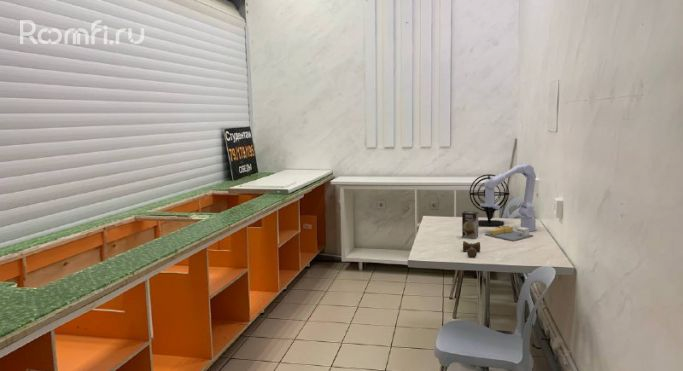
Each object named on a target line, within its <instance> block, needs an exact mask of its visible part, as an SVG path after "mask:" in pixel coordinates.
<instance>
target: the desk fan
mask: <svg viewBox="0 0 683 371" xmlns="http://www.w3.org/2000/svg"><path fill="white" fill-rule="evenodd" d="M496 175H497V174H490V173H489V174H487V173H486V174H483V175H480V176H479V177H477V178H475V180H474V181H472V184H470V187H469V199H470V201H471V203H472V205H473V206H474V207H475V208H476V209H478V210H480V211H481V212H485V210H484V208H485V207H480V204H481V203H483V204H485V200H483V199H482V198H481V196H483V197H484V198H485V188H484V190H483V191H480V190H481V188H482V187H484V182H483V183H481V184H480V185H479V183H480V182H482V181H486V180H488V179H489V180H490V178H491V177H495V176H496ZM480 178H481V179H480ZM503 183H504V184H503ZM473 185H474V186H473ZM477 185H479V187H478V189H477V192H476V191H475V189H476V186H477ZM499 185H501V186H502V188H503V192H501V190H500V187H499ZM499 185H497V186H496V187H495V188H496V189H498V192H497V191H494V197H497V198H496V199H494V205H496V204H497V203H498V202H499V200H500V199H501V196H503V197H502V199H501V201H500V202H499V203H498V204H497V205H498V206H500V209H496V210H495V212H496V211H499V210H501V209H502V208H504V206H505V205H506V204H507V203H508V200H509V196H510V195H511V194H510V191H509V186H508V184H507V183H506V180H505V181H504V182H502V183H500V184H499ZM504 185H505V186H504ZM472 187H473V188H472ZM505 187H506V189H505ZM471 191H472V192H471ZM506 191H507V192H506ZM475 196H477V197H478V200H479V202H480V203H479V202H478V201H477V200H476V197H475ZM506 196H507V197H506ZM472 198H473V199H472ZM473 200H474V201H473ZM503 225H505V222H504V221H503V220H499V219H498V220H497V219H488V218H487V219H482V220H481V219H478V227H499V226H503Z"/></svg>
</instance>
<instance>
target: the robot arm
mask: <svg viewBox="0 0 683 371" xmlns="http://www.w3.org/2000/svg"><path fill="white" fill-rule="evenodd" d="M534 169H535V168H534V167H533V166H532V165H531V164H529V163H527V164H526V163H523V162H522V163H519V164H517V165H515V166H514V167H512V168H510V169H509V170H507V171H506V172H503V173H497V174H495V175H496V176H490V177H491V178H490V180H489V179H485V180H484V182H483V183H484V184H483V185H484V186H483V188H484V189H485V197H484V201H485V202H483V203H485V204H483V203H482V202H480V203H479V204H480V206H479V208H481V207H485V208H483V210H485V211H484V213H485V214H486V215H485V216H486V218H487V220H488V219H491V220H493V216H494V213H495V212H496V211H495V210H496V209H499V210H501V209H500V207H501V205H500V206H498V204H494V203H495V202H494V201H495V196H494V194H495V193H494V192H495V189H496V188H497V187H496V186H499V185H501V184H500V183H502V184H503V183H504V181H505V182H506V179H508V178H510V177H512V176H513V175H515V174H521V175H523V176H524V177H525V179H526V182H525V187H524V195H523V196H524V197H523V201H522V203H521V204H520V207H519V209H518V212H519V214H520V227H524V228H529V233H530V232H534V231H537V228H536V227H537V226H536V223H537V222H536V218H535V217H534V215H535V209H534V208H535V206H534V205H533V199H534V192H535V186H536V178H537V176H536V173H535V170H534Z"/></svg>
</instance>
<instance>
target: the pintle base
mask: <svg viewBox="0 0 683 371" xmlns="http://www.w3.org/2000/svg"><path fill="white" fill-rule="evenodd" d="M508 226H509V225H508V224H504V225H503V227H505V228H507V227H508ZM516 230H517V231H514V230H513V231H512V232H508V233H500V234H496V235H492V234H490V232H486V233H484V236H486V237H491V238H494V239H500V240H504V241H509V242H517V241H521V240H525V239H529V238H533V237H534V234H530V232H529V228H524V227H521V226H520V227H517V228H516ZM519 231H520V232H519Z"/></svg>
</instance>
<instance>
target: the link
mask: <svg viewBox="0 0 683 371" xmlns="http://www.w3.org/2000/svg"><path fill="white" fill-rule="evenodd" d="M497 227H498V228H494V229H490V230H489V233H490V234H492V235H496V234H500V233H508V232H512V231H514V226H510V225H508V227H507V228H505V227H503V226H497Z"/></svg>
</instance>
